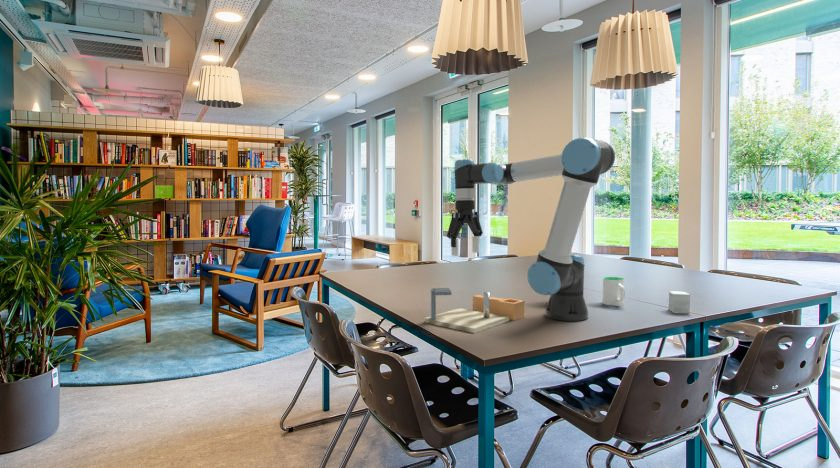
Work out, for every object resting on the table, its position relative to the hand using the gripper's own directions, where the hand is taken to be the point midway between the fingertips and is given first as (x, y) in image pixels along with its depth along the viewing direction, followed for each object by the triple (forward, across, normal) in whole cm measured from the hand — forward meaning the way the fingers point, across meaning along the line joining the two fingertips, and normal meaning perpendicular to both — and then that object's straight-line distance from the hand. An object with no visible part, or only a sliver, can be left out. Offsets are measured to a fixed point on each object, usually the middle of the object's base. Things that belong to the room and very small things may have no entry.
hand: (465, 254), depth 201 cm
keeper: (+20, +23, +6) cm, 32 cm away
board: (+22, +16, +12) cm, 30 cm away
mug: (+23, -46, +41) cm, 66 cm away
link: (+22, 0, +14) cm, 26 cm away
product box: (+23, -49, +64) cm, 84 cm away
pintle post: (+21, +12, +18) cm, 29 cm away
